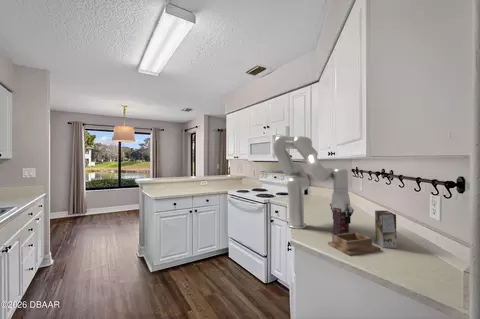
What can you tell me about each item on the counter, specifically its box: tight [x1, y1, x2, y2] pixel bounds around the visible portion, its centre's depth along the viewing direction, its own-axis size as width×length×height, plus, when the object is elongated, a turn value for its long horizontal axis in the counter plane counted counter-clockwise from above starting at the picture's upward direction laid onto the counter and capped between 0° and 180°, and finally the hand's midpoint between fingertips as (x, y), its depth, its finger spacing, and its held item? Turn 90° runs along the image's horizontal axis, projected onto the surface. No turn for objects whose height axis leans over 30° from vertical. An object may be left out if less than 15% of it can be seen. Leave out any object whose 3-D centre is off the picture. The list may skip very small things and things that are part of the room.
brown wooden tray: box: [327, 231, 381, 257], centre depth 109 cm, size 14×18×5 cm
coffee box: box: [374, 210, 398, 249], centre depth 112 cm, size 9×6×16 cm
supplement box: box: [332, 207, 350, 235], centre depth 126 cm, size 9×5×16 cm, turn 126°
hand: (341, 221), depth 126 cm, fingers open, 9 cm apart
